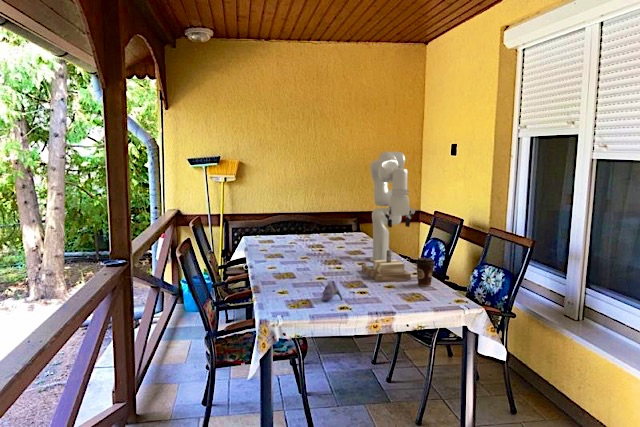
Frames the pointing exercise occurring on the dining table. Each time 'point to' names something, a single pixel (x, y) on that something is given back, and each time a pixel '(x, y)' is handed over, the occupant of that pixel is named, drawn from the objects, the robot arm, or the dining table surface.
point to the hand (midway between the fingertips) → (398, 226)
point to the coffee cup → (424, 271)
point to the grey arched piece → (330, 291)
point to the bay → (385, 275)
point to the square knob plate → (388, 265)
